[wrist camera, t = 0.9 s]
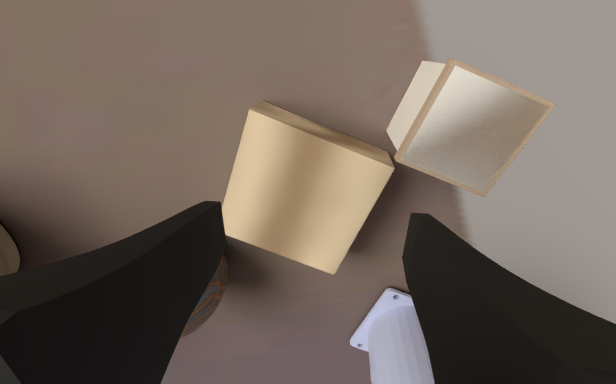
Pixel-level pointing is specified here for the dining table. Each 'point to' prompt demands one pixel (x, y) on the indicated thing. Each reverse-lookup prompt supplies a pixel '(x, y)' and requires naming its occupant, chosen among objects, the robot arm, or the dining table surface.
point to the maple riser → (301, 187)
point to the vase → (208, 299)
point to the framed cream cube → (464, 124)
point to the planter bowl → (8, 254)
